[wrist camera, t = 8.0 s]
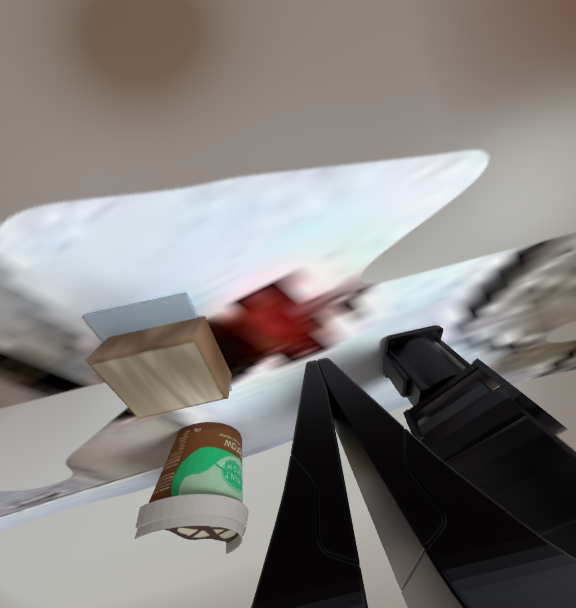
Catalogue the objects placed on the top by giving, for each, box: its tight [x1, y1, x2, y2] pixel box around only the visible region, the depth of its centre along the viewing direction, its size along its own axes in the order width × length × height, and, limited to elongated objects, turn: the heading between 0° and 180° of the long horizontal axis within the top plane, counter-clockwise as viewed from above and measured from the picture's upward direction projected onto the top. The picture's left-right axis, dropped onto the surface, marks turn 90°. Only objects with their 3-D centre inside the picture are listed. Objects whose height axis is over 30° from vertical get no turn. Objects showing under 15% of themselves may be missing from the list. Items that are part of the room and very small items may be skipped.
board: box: [82, 293, 232, 391], centre depth 22 cm, size 9×13×1 cm
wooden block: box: [86, 316, 231, 418], centre depth 20 cm, size 3×8×9 cm
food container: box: [135, 422, 248, 554], centre depth 25 cm, size 12×6×10 cm, turn 37°
